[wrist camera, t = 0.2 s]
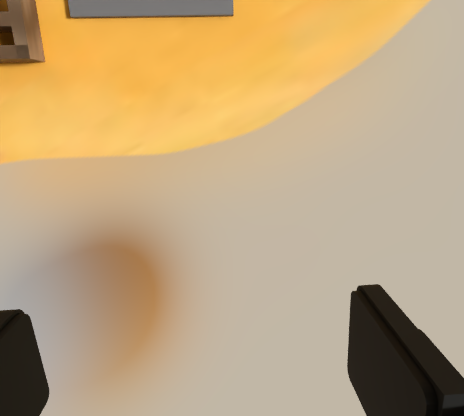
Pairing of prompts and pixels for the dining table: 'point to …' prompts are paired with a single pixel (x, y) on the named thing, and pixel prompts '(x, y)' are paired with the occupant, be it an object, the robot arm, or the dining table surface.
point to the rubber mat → (149, 8)
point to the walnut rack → (21, 32)
